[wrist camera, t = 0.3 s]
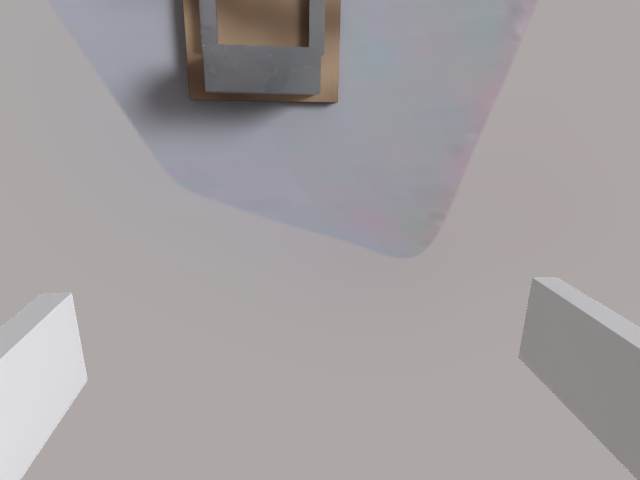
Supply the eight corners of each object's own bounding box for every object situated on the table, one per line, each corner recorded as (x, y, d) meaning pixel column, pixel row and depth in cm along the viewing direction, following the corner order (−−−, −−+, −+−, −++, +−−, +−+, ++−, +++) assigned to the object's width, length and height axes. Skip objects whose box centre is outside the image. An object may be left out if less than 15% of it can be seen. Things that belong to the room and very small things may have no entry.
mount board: (178, -104, 31) (175, -110, 30) (341, -92, 32) (343, -98, 31) (192, 99, 35) (189, 99, 34) (336, 102, 36) (337, 102, 35)
